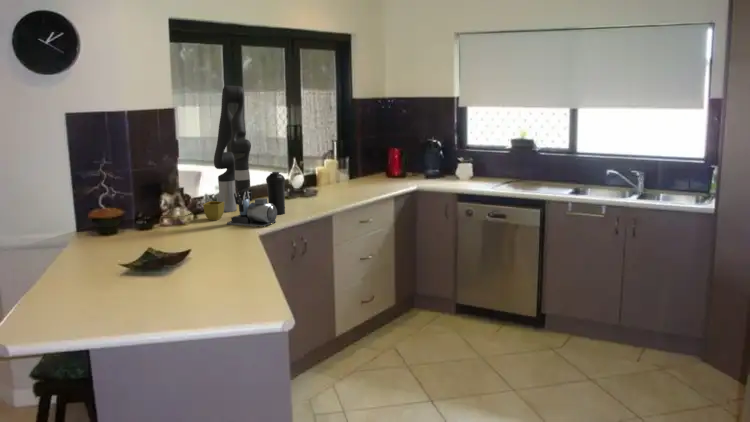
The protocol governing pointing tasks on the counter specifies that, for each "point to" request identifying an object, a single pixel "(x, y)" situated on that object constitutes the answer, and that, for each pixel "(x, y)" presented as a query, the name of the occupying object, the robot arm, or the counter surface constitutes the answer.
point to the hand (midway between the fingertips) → (244, 210)
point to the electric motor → (257, 214)
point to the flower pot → (213, 210)
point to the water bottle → (276, 191)
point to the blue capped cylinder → (245, 206)
